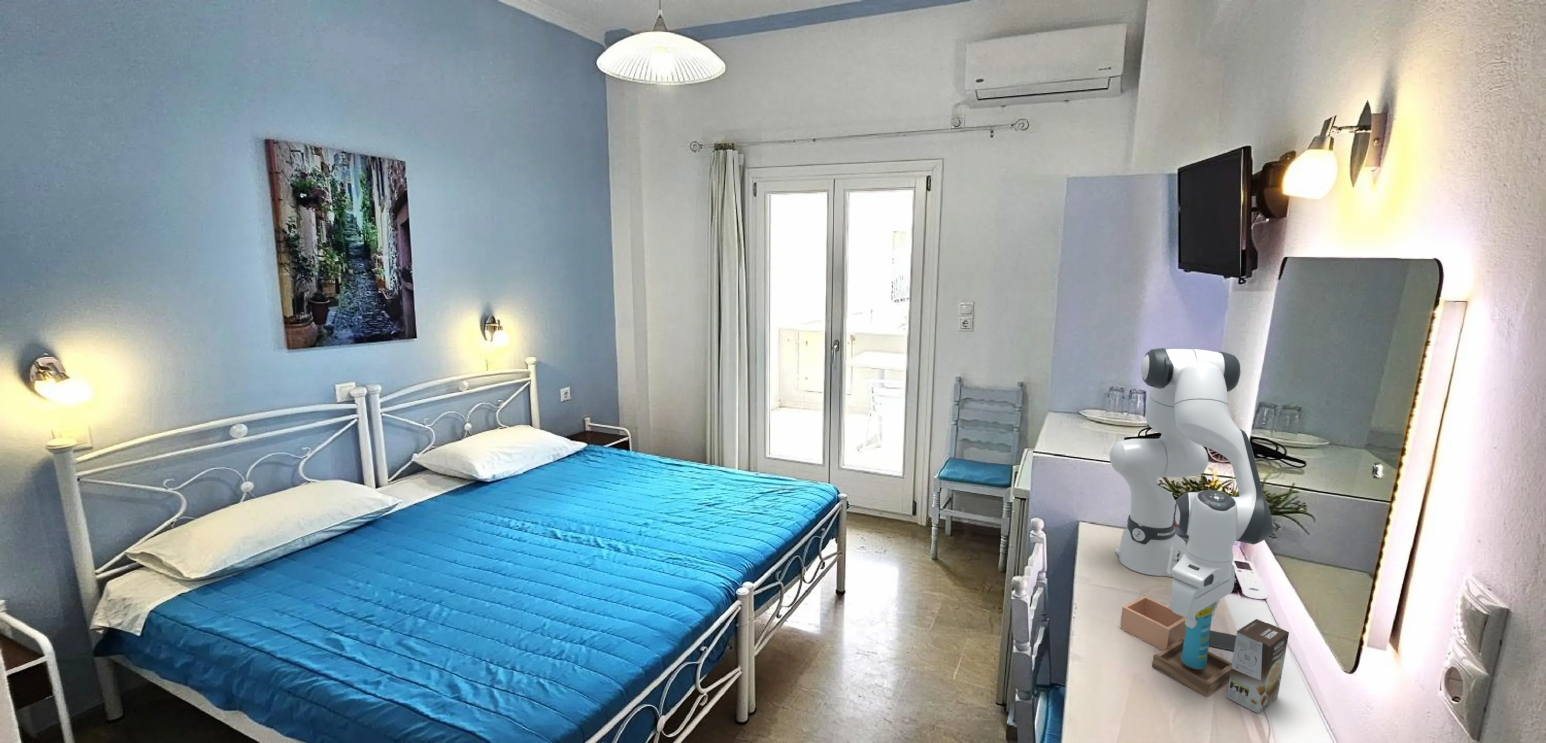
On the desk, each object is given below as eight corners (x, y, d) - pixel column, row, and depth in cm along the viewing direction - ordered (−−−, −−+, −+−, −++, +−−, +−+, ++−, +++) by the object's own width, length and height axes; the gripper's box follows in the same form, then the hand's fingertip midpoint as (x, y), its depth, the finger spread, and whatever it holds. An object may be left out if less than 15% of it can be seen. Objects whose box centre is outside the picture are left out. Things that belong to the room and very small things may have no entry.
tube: (1196, 674, 150) (1207, 596, 145) (1174, 663, 154) (1183, 587, 149) (1213, 662, 154) (1223, 586, 149) (1190, 651, 158) (1200, 577, 153)
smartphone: (1188, 625, 171) (1260, 639, 164) (1188, 628, 171) (1259, 642, 164) (1192, 641, 164) (1266, 656, 158) (1191, 645, 164) (1266, 660, 158)
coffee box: (1259, 715, 140) (1270, 646, 137) (1225, 697, 146) (1235, 631, 142) (1278, 697, 145) (1290, 631, 142) (1245, 681, 150) (1255, 617, 147)
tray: (1180, 649, 162) (1181, 638, 161) (1234, 677, 152) (1236, 665, 151) (1151, 666, 156) (1153, 655, 155) (1206, 696, 146) (1208, 684, 145)
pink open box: (1141, 616, 176) (1144, 595, 174) (1188, 638, 166) (1190, 616, 165) (1120, 628, 171) (1122, 606, 169) (1166, 652, 161) (1169, 629, 160)
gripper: (1216, 546, 156) (1208, 600, 159) (1167, 571, 146) (1160, 628, 149) (1246, 557, 151) (1238, 612, 154) (1197, 584, 140) (1190, 643, 143)
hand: (1199, 620), depth 151 cm, fingers closed on tube, 6 cm apart
